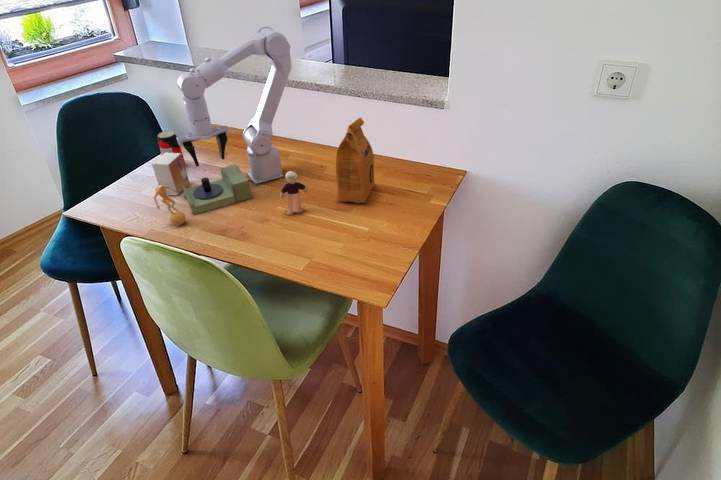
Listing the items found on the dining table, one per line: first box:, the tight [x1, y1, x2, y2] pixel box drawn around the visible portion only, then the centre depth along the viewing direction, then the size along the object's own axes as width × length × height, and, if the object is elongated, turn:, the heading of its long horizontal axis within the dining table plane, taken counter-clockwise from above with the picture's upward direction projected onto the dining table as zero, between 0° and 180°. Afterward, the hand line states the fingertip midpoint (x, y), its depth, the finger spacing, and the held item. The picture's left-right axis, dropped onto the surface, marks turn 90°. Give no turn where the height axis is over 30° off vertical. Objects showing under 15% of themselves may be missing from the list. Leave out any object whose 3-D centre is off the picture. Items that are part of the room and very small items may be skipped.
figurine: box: [153, 185, 186, 226], centre depth 129 cm, size 8×6×12 cm
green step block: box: [182, 163, 253, 215], centre depth 142 cm, size 17×12×6 cm
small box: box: [151, 152, 190, 196], centre depth 145 cm, size 8×6×10 cm
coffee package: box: [335, 117, 375, 204], centre depth 135 cm, size 10×12×22 cm
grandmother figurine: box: [279, 170, 308, 216], centre depth 132 cm, size 8×4×13 cm, turn 117°
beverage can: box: [157, 130, 186, 165], centre depth 157 cm, size 6×6×12 cm
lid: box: [193, 177, 223, 200], centre depth 140 cm, size 8×8×4 cm
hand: (210, 161), depth 142 cm, fingers open, 7 cm apart
